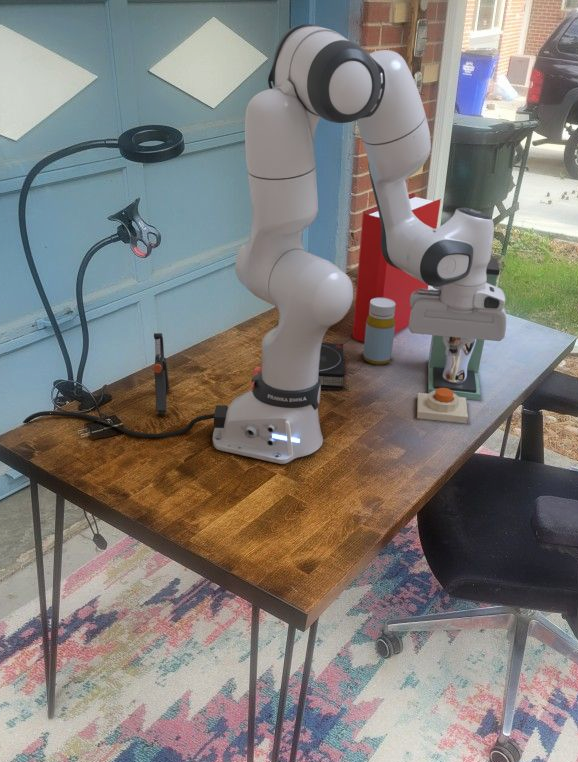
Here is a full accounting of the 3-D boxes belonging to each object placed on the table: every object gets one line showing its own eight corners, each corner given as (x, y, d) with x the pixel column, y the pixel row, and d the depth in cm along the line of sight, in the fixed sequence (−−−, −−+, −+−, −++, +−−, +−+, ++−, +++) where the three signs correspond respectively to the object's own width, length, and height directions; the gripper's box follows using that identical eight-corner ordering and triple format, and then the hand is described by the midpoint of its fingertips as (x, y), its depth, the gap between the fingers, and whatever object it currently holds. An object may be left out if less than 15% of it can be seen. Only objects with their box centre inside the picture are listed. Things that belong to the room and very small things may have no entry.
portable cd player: (271, 387, 167) (271, 371, 165) (276, 355, 181) (276, 340, 179) (342, 391, 168) (343, 375, 166) (341, 358, 182) (343, 344, 179)
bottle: (376, 368, 179) (382, 310, 170) (357, 357, 183) (362, 300, 174) (396, 361, 183) (403, 304, 174) (377, 351, 187) (383, 294, 178)
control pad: (416, 418, 161) (419, 404, 158) (417, 399, 168) (419, 385, 166) (466, 423, 160) (469, 409, 158) (464, 404, 167) (467, 390, 165)
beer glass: (467, 387, 169) (479, 326, 160) (438, 382, 170) (447, 321, 161) (469, 374, 175) (480, 314, 166) (441, 369, 176) (450, 310, 167)
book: (400, 308, 212) (414, 192, 192) (424, 315, 208) (440, 198, 189) (349, 337, 193) (359, 212, 173) (375, 346, 189) (388, 219, 170)
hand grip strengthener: (155, 418, 153) (149, 352, 144) (159, 390, 163) (153, 327, 154) (167, 418, 153) (161, 352, 144) (169, 390, 163) (164, 327, 154)
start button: (434, 402, 161) (435, 395, 160) (434, 393, 164) (435, 386, 163) (452, 404, 160) (453, 397, 159) (452, 395, 164) (453, 388, 163)
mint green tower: (426, 394, 170) (444, 280, 153) (426, 361, 184) (442, 253, 168) (480, 400, 169) (503, 286, 153) (476, 366, 184) (497, 259, 168)
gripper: (410, 293, 145) (403, 356, 154) (513, 302, 145) (500, 365, 153) (411, 282, 150) (404, 343, 159) (510, 291, 150) (497, 352, 158)
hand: (452, 354), depth 156 cm, fingers closed
